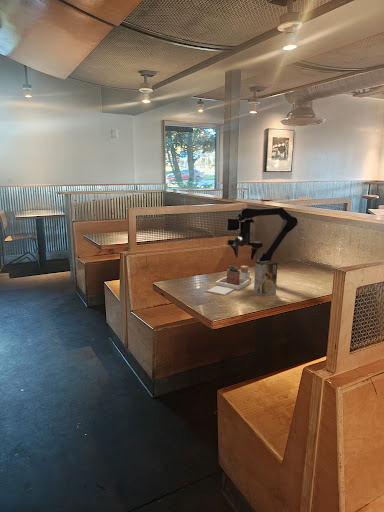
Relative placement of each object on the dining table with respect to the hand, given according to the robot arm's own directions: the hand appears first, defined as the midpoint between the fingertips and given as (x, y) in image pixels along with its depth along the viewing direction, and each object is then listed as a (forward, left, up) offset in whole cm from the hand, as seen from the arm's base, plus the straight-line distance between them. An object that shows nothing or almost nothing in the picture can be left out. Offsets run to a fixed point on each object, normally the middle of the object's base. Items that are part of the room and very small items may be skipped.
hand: (244, 258), depth 200 cm
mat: (+1, +26, -12) cm, 28 cm away
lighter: (+1, +12, -12) cm, 17 cm away
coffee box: (-19, +17, -12) cm, 28 cm away
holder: (+1, +8, -12) cm, 14 cm away
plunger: (0, 0, -9) cm, 9 cm away
